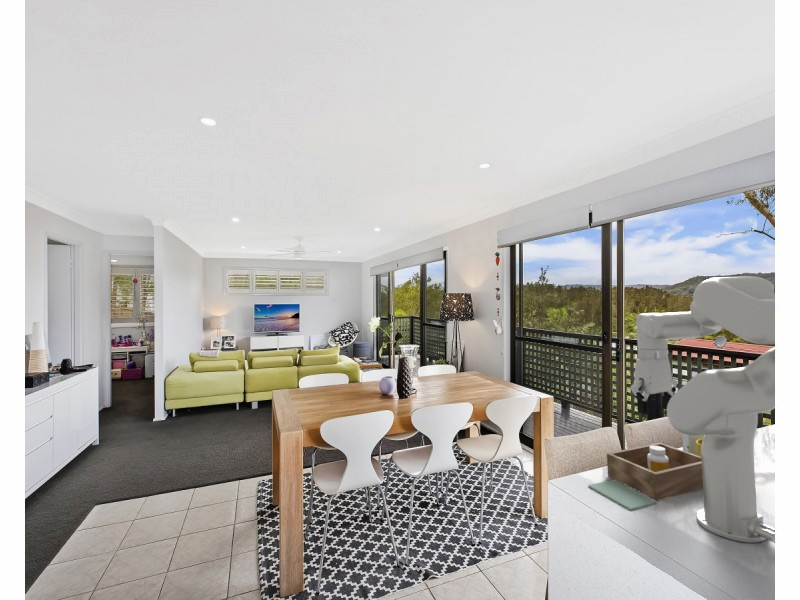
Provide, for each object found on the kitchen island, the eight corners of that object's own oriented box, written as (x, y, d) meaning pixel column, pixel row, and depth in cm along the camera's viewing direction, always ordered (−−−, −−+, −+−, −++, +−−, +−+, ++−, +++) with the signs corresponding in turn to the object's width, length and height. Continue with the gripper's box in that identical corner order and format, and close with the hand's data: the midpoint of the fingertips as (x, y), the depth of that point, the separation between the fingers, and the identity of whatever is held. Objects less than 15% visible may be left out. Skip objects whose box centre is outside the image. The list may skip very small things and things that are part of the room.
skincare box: (682, 457, 130) (680, 421, 130) (698, 458, 128) (696, 422, 128) (689, 465, 124) (687, 427, 124) (705, 466, 122) (703, 428, 122)
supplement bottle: (674, 484, 111) (672, 450, 112) (655, 485, 112) (653, 451, 112) (662, 476, 117) (660, 444, 117) (644, 476, 117) (642, 444, 117)
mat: (656, 503, 102) (656, 501, 102) (630, 510, 99) (630, 508, 99) (612, 481, 115) (612, 479, 115) (588, 486, 112) (588, 485, 112)
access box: (713, 485, 110) (712, 460, 110) (657, 500, 103) (655, 474, 103) (660, 464, 125) (659, 442, 125) (607, 476, 118) (606, 453, 118)
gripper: (662, 350, 121) (665, 405, 121) (619, 355, 116) (622, 412, 116) (686, 353, 114) (689, 411, 114) (642, 358, 109) (645, 418, 108)
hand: (655, 411), depth 115 cm, fingers open, 9 cm apart
